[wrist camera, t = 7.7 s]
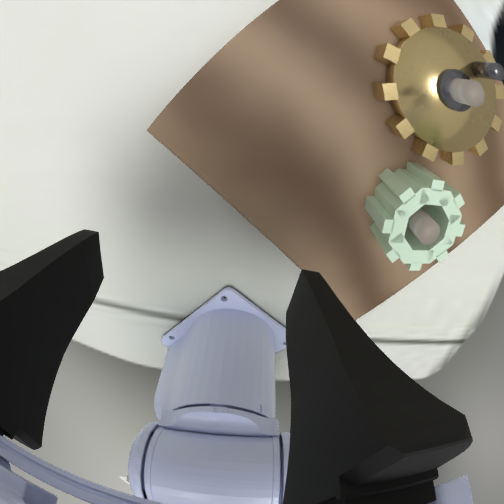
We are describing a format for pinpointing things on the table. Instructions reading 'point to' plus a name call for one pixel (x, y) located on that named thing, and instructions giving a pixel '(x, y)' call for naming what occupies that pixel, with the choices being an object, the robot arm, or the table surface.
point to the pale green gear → (406, 204)
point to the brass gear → (438, 88)
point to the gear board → (322, 138)
